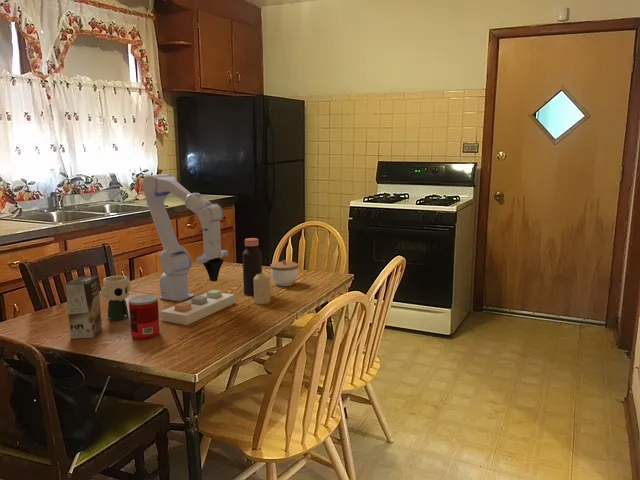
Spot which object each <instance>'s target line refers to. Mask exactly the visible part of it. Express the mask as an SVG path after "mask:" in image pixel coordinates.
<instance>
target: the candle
mask: <svg viewBox="0 0 640 480" xmlns="http://www.w3.org/2000/svg"><path fill="white" fill-rule="evenodd" d="M253 301H254V303H255V304H256V305H267V304H270V303H271V278H270V276H268V275H267V274H266V273H265V272H262V273H260V274H257V275H256V276H255V277H254V295H253Z"/></svg>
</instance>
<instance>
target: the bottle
mask: <svg viewBox="0 0 640 480" xmlns="http://www.w3.org/2000/svg"><path fill="white" fill-rule="evenodd" d="M244 247H245V249H244V250H243V252H242V278H243V283H242V284H243V285H242V286H243V294H244V295H245V296H250V297H251V296H254V277H255V276H256V275H257V274H260V273H263V269H262V268H263V267H262V265H263V264H262V262H263V261H262V251H260V249H259V248H258V247H259V238H256V237H250V238H249V237H248V238H245V239H244Z"/></svg>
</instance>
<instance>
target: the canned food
mask: <svg viewBox="0 0 640 480" xmlns="http://www.w3.org/2000/svg"><path fill="white" fill-rule="evenodd" d="M159 311H160V310H159V300H158V296H157V295H153V294H142V295H136V296H133V297H131V298H129V299H128V313H129V323H130V325H129V326H130V333H131V338H132V339H134V340H140V341H142V340H143V341H144V340H151V339H153V338H156V337H158V336H159V335H160V331H161V330H160V316H159V315H160V313H159Z"/></svg>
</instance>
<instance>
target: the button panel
mask: <svg viewBox="0 0 640 480" xmlns="http://www.w3.org/2000/svg"><path fill="white" fill-rule="evenodd" d="M199 296H205V297H207V292H206V293H203V294H201V295H199ZM184 302H186V303H191V299H188V300H184ZM235 303H236V302H235V294H233V293H224V292H222V296H221V297H219V298H216V299H214V298H207V303H205V304H202V305H196V304H191V310H188V311H186V312H179V311H175V306H174V305H172V306H170V307H168V308H165V309H163V310H161V311H160V318H161V320H160V321H162V322H168V323H172V324H178V325H184V326H188V325H190V324H193V323H195V322H196V321H199V320H201V319H203V318H205V317H208V316H210V315H212V314H214V313H216V312H219V311H221V310H223V309H225V308H227V307H230V306H232V305H233V304H235Z"/></svg>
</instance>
